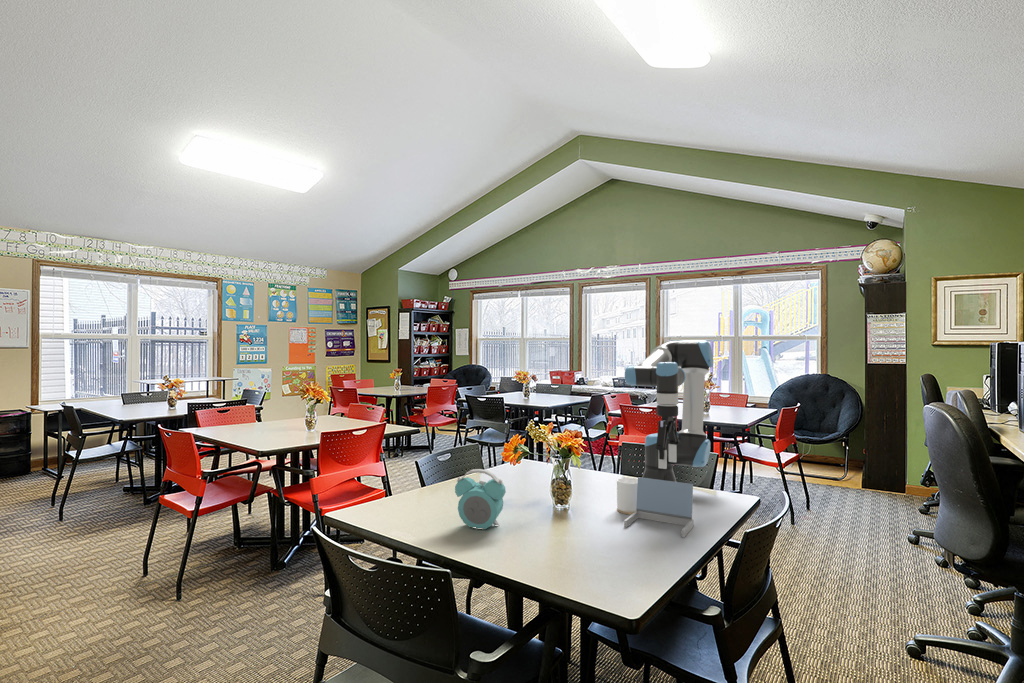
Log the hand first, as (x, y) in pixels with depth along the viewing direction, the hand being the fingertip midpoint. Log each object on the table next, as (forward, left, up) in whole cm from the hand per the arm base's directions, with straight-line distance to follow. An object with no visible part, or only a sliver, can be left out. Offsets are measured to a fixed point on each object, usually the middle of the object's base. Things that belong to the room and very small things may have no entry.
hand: (667, 465), depth 197 cm
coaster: (0, -14, -18) cm, 23 cm away
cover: (+7, 0, -10) cm, 12 cm away
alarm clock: (+44, -52, -19) cm, 70 cm away
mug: (0, -13, -18) cm, 22 cm away
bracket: (+13, 0, -18) cm, 22 cm away
